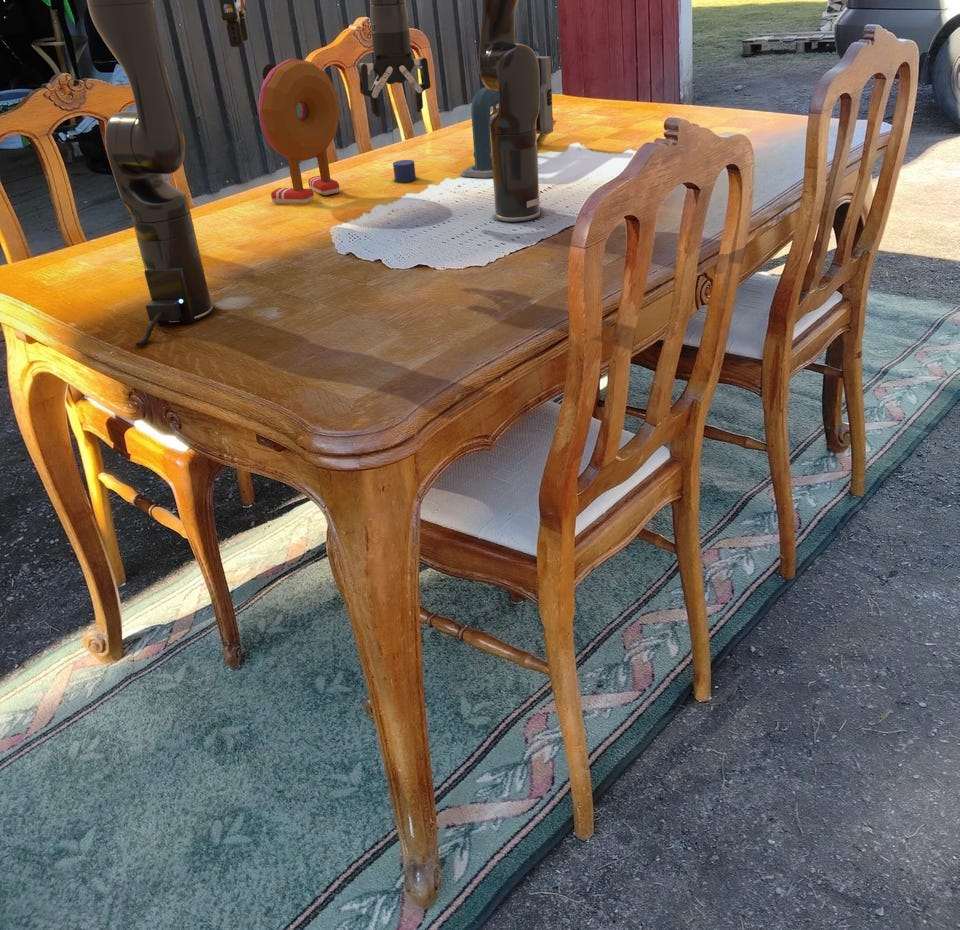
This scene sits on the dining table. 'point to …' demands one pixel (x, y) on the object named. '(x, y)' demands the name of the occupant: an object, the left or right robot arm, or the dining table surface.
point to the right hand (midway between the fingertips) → (397, 114)
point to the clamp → (482, 112)
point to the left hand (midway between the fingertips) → (239, 43)
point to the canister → (404, 171)
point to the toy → (299, 124)
